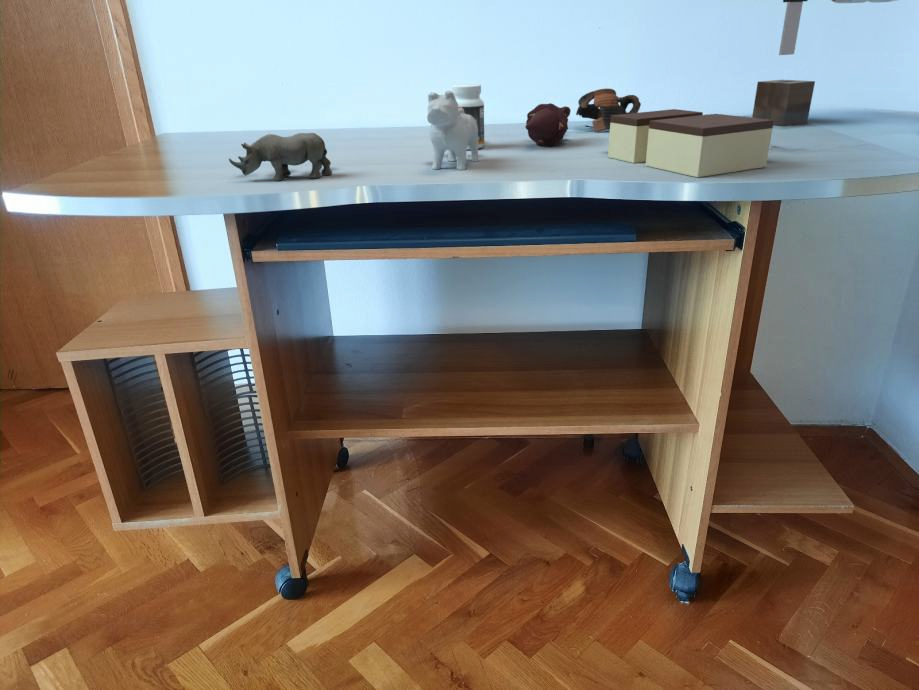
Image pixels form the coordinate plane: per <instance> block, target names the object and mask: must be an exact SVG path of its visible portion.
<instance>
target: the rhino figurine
mask: <svg viewBox="0 0 919 690" xmlns="http://www.w3.org/2000/svg"><path fill="white" fill-rule="evenodd" d="M240 145H241V147H242V148H243V149H244V150H245V151H246V155H245V156H240V155H238V156H237V159H238V160H239V161H240V162H238V161H235V160H232V159H231V158H228V161H229V163H230V164H231V165H232V166H234V167H235V168H237V169H239V170H240V171H241V172H242V174H243V175H244V176H245V177H246V176H249V175H250V174H252V173H253V172H255V171H257V170H258V169H259V168H260V167H261V166H262V165H261V164H262V163H263V162H270V164H271V166H272V168H273V169H274V172H275V175H274V176H273V177H272V181H274V182H279V181H283V180H285V178H287V177H289V176H291V174H292V172H291V170H290V169H289V166H299V165H300V166H301V165H302V164H304V163H306V162H307V161H309V163H311V172H310V173H309V174H308V178H309V179H318V178H321V177H322V176H328V175H332V174H333V170H332V169H331V167H330V166H331V164H332V163H331V160H330V159H329V158H327V154H328V149H327V148H326V144H325V141H324V139H323V138H322V137H321V136H320V135H318V134H317V133H315V132H299V133H296V134H293V135H291V136H280V135H278V134H271V133H270V134H266V135H263V136H261V137H260V138H258V139H257V140H255V141H254V142H252V143H251V144H248V143H246V142H244V143H241V144H240ZM322 168H323V169H322ZM320 170H321V172H320Z"/></svg>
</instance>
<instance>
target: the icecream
mask: <svg viewBox="0 0 919 690" xmlns="http://www.w3.org/2000/svg"><path fill="white" fill-rule="evenodd" d="M570 115H571V108H570V107H569V106H567V105H565V106H562V107H559V106H557V105H555V104H554V103H551V102H550V103H539V104H538V105H536V106H535V107H534V108H533V109H531V110H530V111H529V112H528V113H527V114H526V117H527V118H526V122H525V129H526V130H527V134H528V138H529V139H530V140H531V141H532V142H534V143H535V144H537V145H538V146H539V147H554V146H555V145H557V143H558V142H560V141H562V140H563V139H564V137H565V134H566V133H567V131H568V130H569V126H568V122H569V116H570Z"/></svg>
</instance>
